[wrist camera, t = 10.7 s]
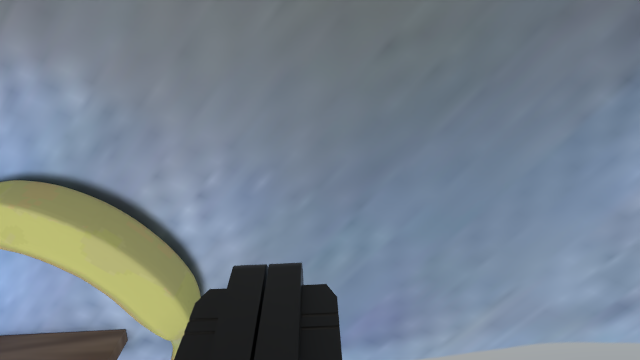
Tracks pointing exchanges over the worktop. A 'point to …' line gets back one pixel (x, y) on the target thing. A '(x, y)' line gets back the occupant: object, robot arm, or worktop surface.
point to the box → (64, 346)
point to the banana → (100, 252)
